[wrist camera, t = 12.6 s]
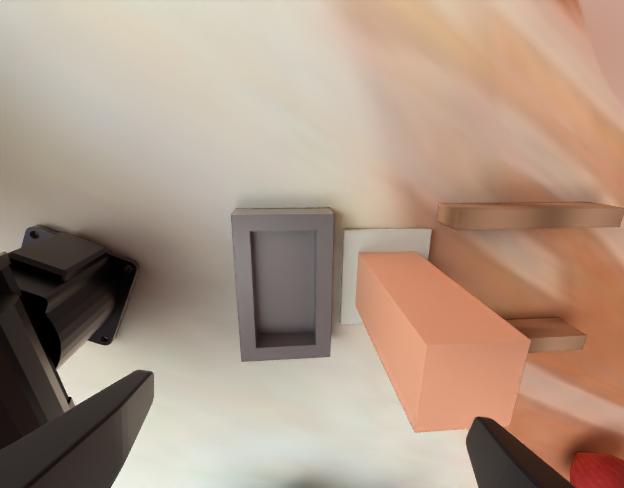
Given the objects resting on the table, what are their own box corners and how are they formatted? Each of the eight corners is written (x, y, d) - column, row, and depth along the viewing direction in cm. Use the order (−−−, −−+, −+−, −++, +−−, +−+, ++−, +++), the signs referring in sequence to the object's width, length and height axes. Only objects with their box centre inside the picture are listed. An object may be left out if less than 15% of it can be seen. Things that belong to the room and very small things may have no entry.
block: (355, 305, 22) (414, 432, 12) (358, 252, 21) (426, 345, 11) (409, 303, 23) (509, 425, 13) (415, 251, 22) (531, 340, 12)
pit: (244, 343, 23) (241, 361, 21) (235, 208, 20) (231, 215, 18) (326, 339, 23) (330, 356, 22) (329, 207, 21) (334, 213, 19)
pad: (339, 321, 23) (340, 324, 23) (343, 229, 21) (344, 231, 21) (418, 318, 24) (420, 320, 23) (429, 228, 22) (431, 229, 21)
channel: (422, 337, 24) (437, 357, 22) (439, 203, 21) (459, 210, 19) (554, 330, 25) (582, 349, 23) (588, 201, 22) (625, 208, 20)
